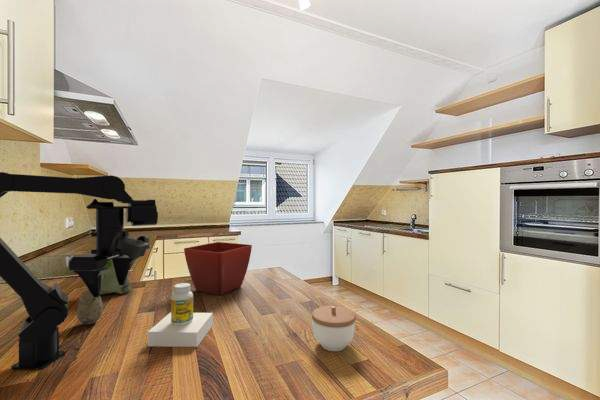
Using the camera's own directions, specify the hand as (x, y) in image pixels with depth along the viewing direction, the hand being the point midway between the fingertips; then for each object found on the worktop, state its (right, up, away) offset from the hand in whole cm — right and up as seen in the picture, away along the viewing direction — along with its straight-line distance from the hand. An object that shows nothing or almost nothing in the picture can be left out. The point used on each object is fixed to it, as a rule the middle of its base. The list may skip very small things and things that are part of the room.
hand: (109, 290), depth 71 cm
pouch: (-24, -13, +38) cm, 47 cm away
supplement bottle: (+16, -10, +5) cm, 19 cm away
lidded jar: (+55, -14, 0) cm, 57 cm away
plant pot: (+14, -13, +44) cm, 48 cm away
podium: (+16, -13, +5) cm, 21 cm away
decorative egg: (-13, -13, +11) cm, 22 cm away
